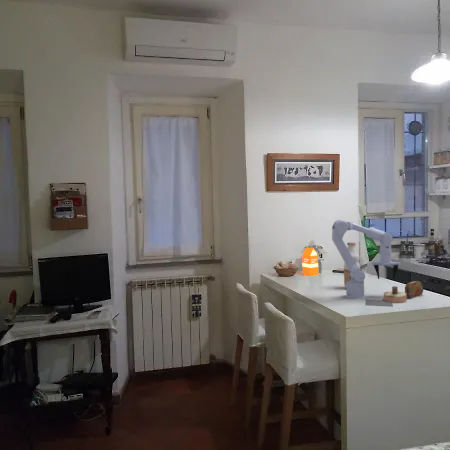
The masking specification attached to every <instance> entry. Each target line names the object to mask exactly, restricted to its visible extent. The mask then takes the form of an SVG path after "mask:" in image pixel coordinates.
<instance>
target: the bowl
mask: <svg viewBox="0 0 450 450" xmlns="http://www.w3.org/2000/svg"><path fill="white" fill-rule="evenodd" d="M383 300H385V301H388V302H392V303H393V304H394V303H395V304H396V303H406V302H407V301H408V300H407V296H406V297H401V298H394V297H387V296H384V295H383Z"/></svg>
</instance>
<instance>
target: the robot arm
mask: <svg viewBox="0 0 450 450" xmlns="http://www.w3.org/2000/svg"><path fill="white" fill-rule="evenodd" d="M331 229H332V231H331V240H332V242H333V243H334V246H335V247H336V249H337V250H338V253H339V254H340V256H341V258H342V260H343V261H344V263H346V265H347V267H348V270H349V275H350V277H351V280H350V281H347V289H346V292H345V294H346V299H360V300H361V299H365V300H366V294H365V279H366V273H365V272H364V271H362V270H361V267H360V268H359V267H358V266H357V264H356V263H355V261H354V259H353V257H352V256H351V254H350V252H349V250H348V249H347V248H348V246H347V245H346V243H345V241H344V240H343V238H344V235H345V234H346V233H347V232H348V231H352V230H353V231H356V232H360V233H363V234H366V237H367V238H369V239H372V240H375V241H378V242H379V243H380V244H379V258H380V259H379V260H380V261H371V266H373V269H374V270H375V271H376V276H377V279H378V280H379V279H380V269H379V268H380V266H381V267H382V266H383V267H384V266H385V267H386V266H390V267H392V272H393V273H392V280H395V278H396V277H395V276H396V273H397V272H398V269H399V267H401V262H399V261H392V242H393V240H394V237H393V235H392V234H391V233H389V232H386V231H385V230H384V229H383V230H380V229H377V227H375V226H373V227H371V226H370V227H369V228H367V227H366V226H362V225H360V224H357V223H354V222H351V221H345V220H342V219H341V220H340V219H338V220H336V221H334V222H333V224H332V227H331Z"/></svg>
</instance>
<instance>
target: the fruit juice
mask: <svg viewBox="0 0 450 450" xmlns="http://www.w3.org/2000/svg"><path fill="white" fill-rule="evenodd" d="M346 247H347V249H348V250H349V252H350V254H351V256H352V257H353V259H354V261H355V263H356V264H357V266H358V267H359V268H360V269H361V264H360V258H361V257H360V255H359V253H358V251H357V249H356V242H347V245H346ZM350 280H351V277H350V275H349V270H348V267H347V265H346V263H345V262H344V264H343V281H344V282H343V283H344V285H343V286H344V289H346V290H347V281H350Z"/></svg>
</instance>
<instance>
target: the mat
mask: <svg viewBox="0 0 450 450" xmlns="http://www.w3.org/2000/svg"><path fill="white" fill-rule="evenodd" d="M365 306H368V307H369V306H371V307H372V306H373V307H390V308H391V307H392V308H393V307H394V302H388V301H385V300H384V299H368V298H367V299H366V298H365Z"/></svg>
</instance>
